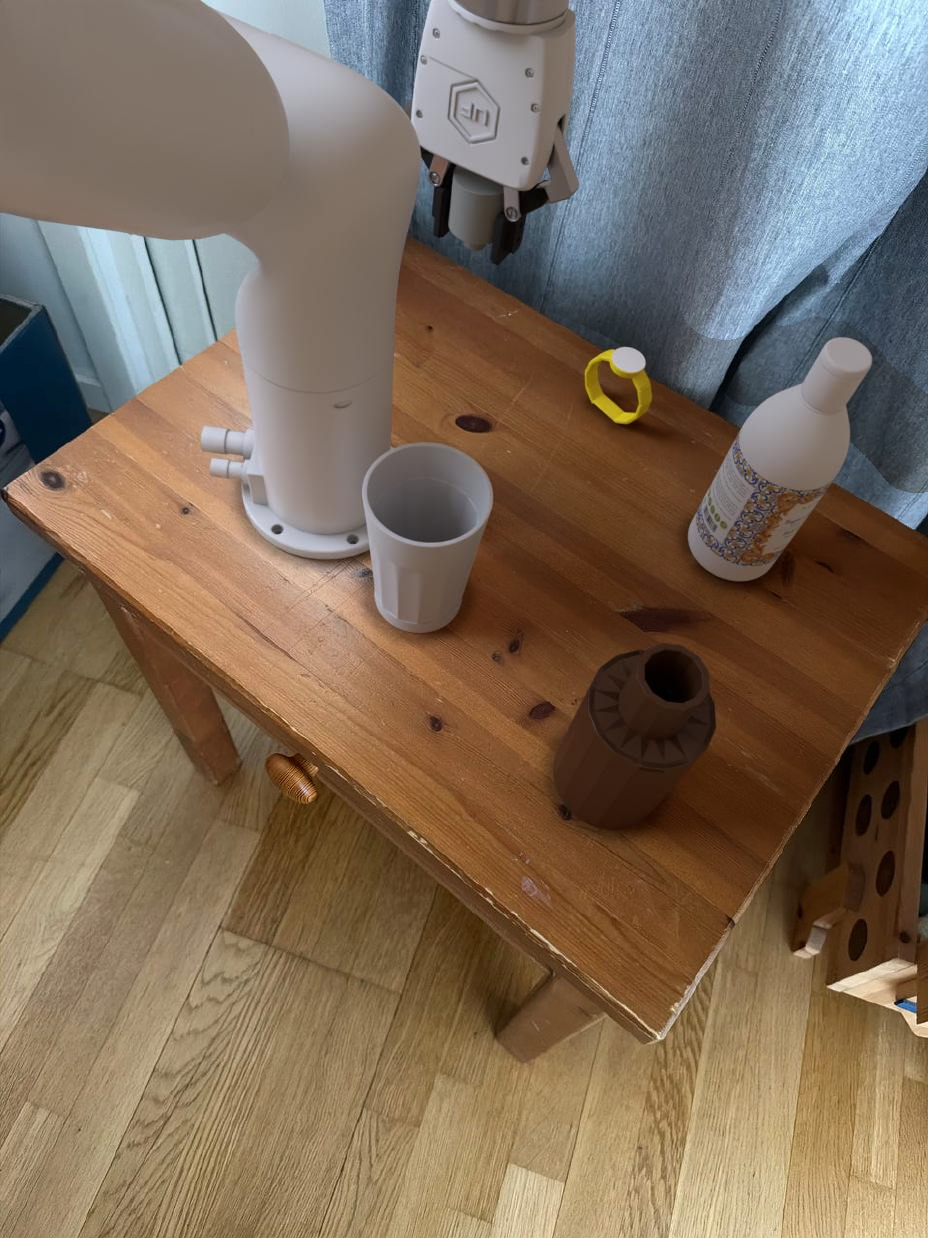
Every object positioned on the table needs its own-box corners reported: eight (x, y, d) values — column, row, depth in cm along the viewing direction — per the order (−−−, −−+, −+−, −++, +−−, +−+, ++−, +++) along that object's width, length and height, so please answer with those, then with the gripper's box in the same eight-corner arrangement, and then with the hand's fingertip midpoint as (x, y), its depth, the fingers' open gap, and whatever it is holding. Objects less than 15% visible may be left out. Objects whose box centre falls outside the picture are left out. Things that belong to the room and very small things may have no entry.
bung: (443, 257, 68) (450, 189, 64) (449, 221, 71) (456, 153, 66) (500, 266, 69) (511, 199, 64) (504, 230, 71) (515, 163, 66)
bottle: (550, 822, 57) (603, 731, 44) (555, 719, 61) (605, 607, 48) (661, 835, 58) (746, 749, 45) (659, 732, 61) (737, 624, 48)
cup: (372, 542, 67) (373, 433, 56) (478, 556, 67) (498, 451, 57) (354, 635, 63) (352, 536, 52) (467, 650, 63) (487, 555, 53)
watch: (572, 397, 76) (587, 344, 71) (593, 382, 77) (610, 328, 72) (625, 439, 74) (644, 388, 69) (646, 423, 75) (667, 371, 70)
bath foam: (726, 599, 67) (850, 414, 50) (667, 533, 70) (766, 335, 52) (791, 560, 69) (931, 371, 52) (732, 497, 72) (847, 298, 55)
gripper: (358, -51, 54) (356, 222, 69) (608, 52, 51) (547, 313, 66) (424, -91, 57) (408, 176, 73) (660, 3, 54) (591, 261, 70)
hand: (475, 239), depth 69 cm, fingers closed on bung, 4 cm apart
